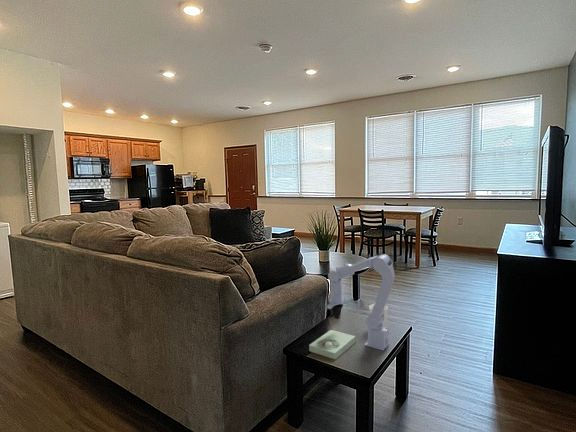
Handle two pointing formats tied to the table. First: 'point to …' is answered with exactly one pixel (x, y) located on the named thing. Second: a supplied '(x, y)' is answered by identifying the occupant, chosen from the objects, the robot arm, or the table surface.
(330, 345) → the ball
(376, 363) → the table surface
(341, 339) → the putting board
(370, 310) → the candle holder
